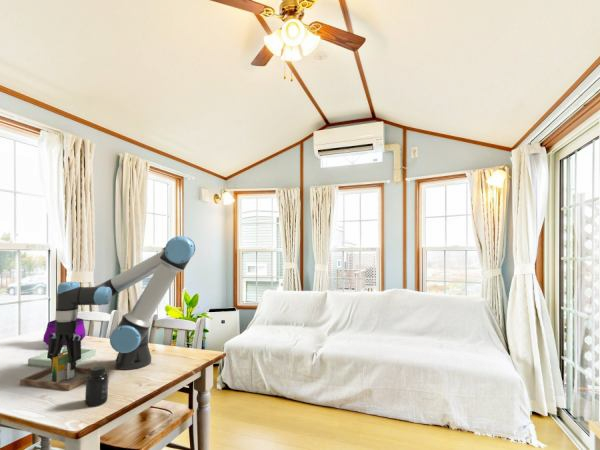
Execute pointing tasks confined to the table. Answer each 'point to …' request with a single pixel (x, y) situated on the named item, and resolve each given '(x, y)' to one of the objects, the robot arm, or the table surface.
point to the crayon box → (60, 367)
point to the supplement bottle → (96, 387)
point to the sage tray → (45, 362)
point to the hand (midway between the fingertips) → (62, 376)
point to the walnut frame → (54, 385)
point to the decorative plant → (51, 329)
